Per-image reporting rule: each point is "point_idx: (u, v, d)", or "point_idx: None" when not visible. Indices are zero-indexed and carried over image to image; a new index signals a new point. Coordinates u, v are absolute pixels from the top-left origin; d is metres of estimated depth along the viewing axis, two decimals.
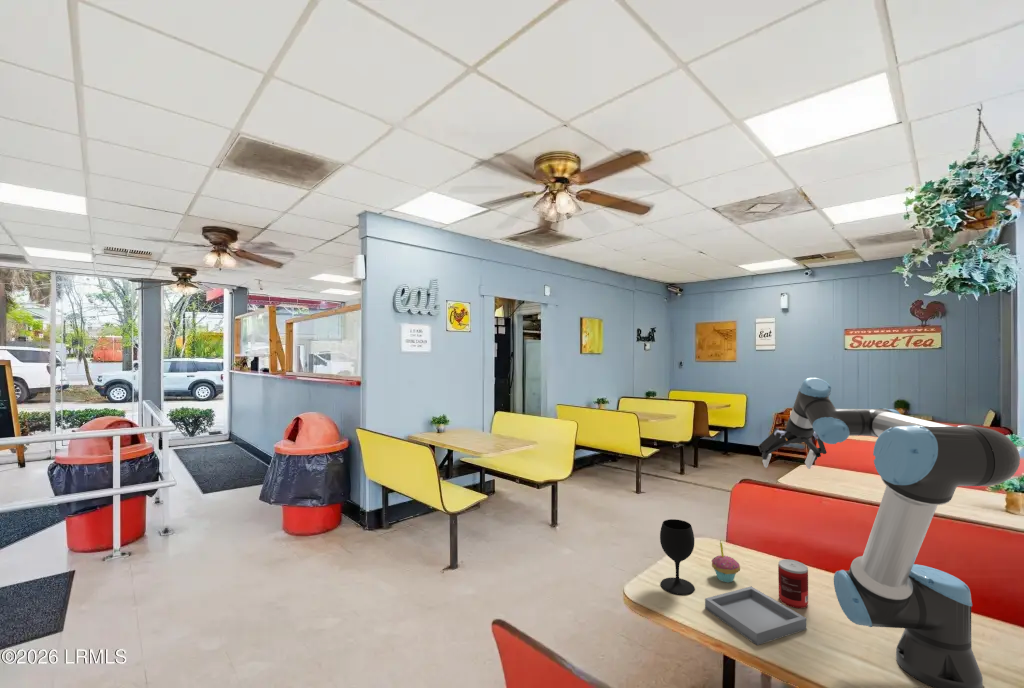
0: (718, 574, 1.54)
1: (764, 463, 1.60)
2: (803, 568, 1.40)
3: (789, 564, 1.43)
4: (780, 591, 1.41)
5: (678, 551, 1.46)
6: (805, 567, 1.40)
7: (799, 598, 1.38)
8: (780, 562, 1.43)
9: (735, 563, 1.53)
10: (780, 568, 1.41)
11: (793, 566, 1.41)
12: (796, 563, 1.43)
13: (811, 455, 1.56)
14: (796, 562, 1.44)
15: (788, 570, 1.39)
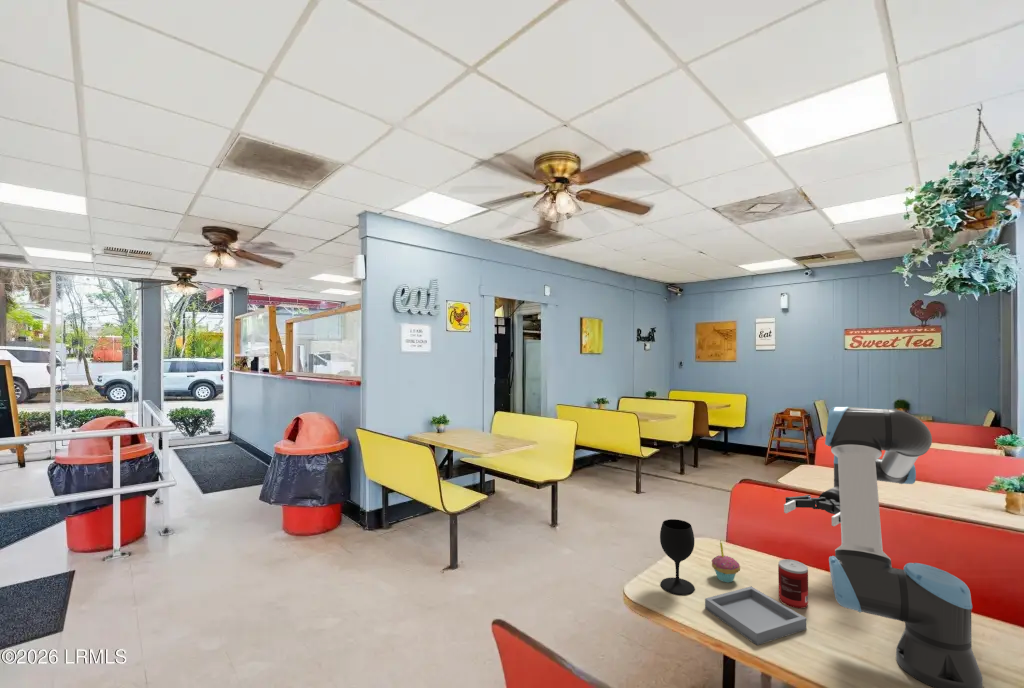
0: (718, 574, 1.54)
1: None
2: (803, 568, 1.40)
3: (789, 564, 1.43)
4: (780, 591, 1.41)
5: (678, 551, 1.46)
6: (805, 567, 1.40)
7: (799, 598, 1.38)
8: (780, 562, 1.43)
9: (735, 563, 1.53)
10: (780, 568, 1.41)
11: (793, 566, 1.41)
12: (796, 563, 1.43)
13: None
14: (796, 562, 1.44)
15: (788, 570, 1.39)
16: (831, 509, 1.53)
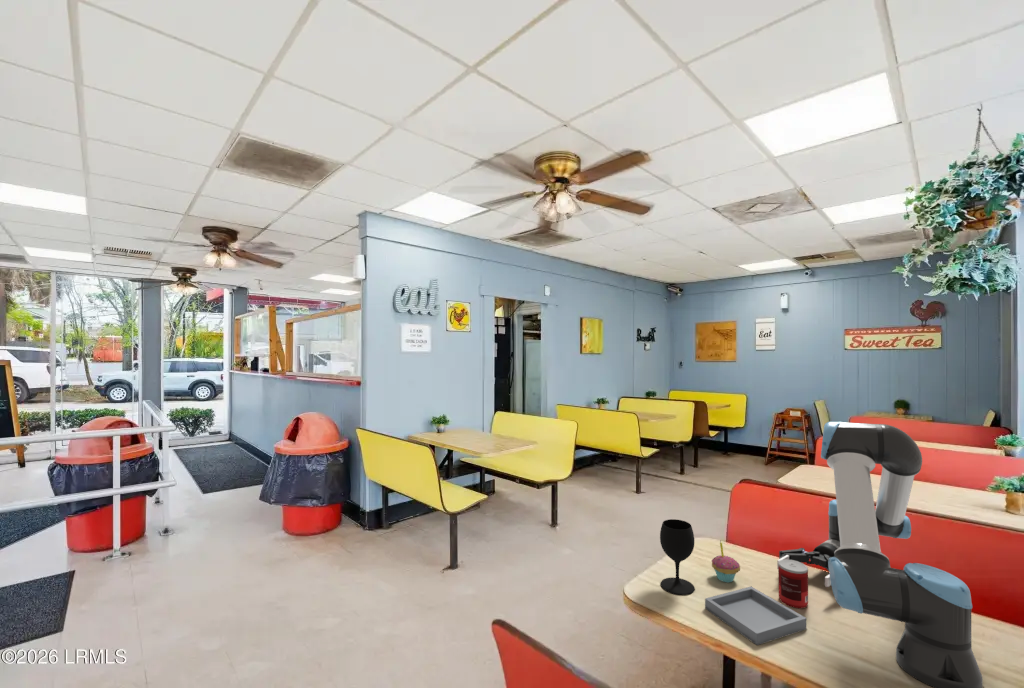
0: (718, 574, 1.54)
1: None
2: (803, 568, 1.40)
3: (789, 564, 1.43)
4: (780, 591, 1.41)
5: (678, 551, 1.46)
6: (805, 567, 1.40)
7: (799, 598, 1.38)
8: (780, 562, 1.43)
9: (735, 563, 1.53)
10: (780, 568, 1.41)
11: (793, 566, 1.41)
12: (796, 563, 1.43)
13: None
14: (796, 562, 1.44)
15: (788, 570, 1.39)
16: (825, 565, 1.51)
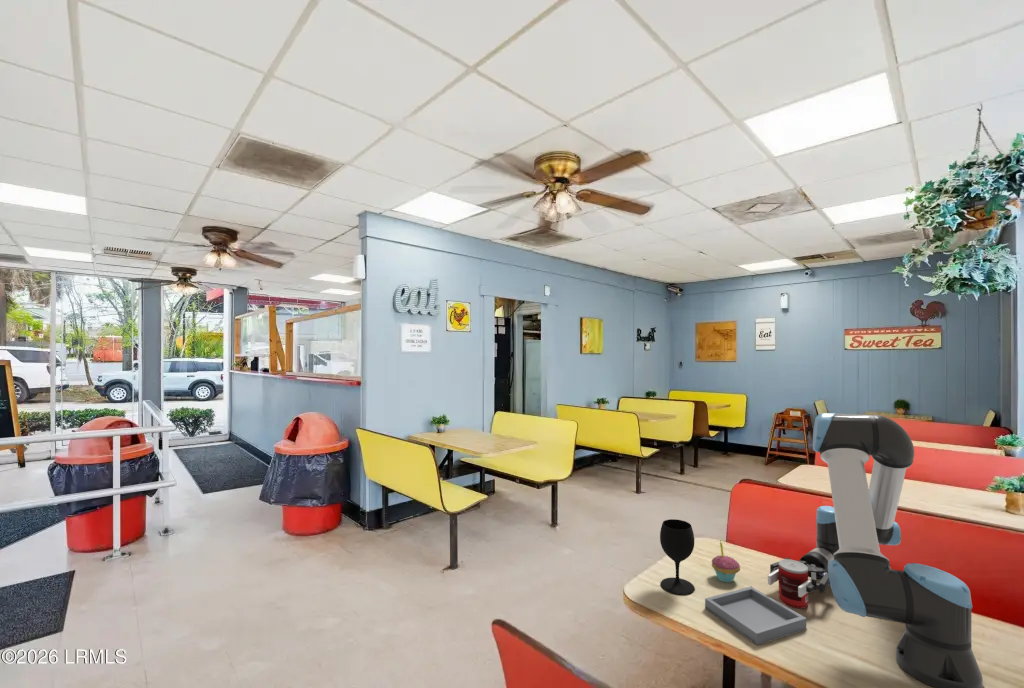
0: (718, 574, 1.54)
1: None
2: (803, 568, 1.40)
3: (789, 564, 1.43)
4: (780, 591, 1.41)
5: (678, 551, 1.46)
6: (805, 567, 1.40)
7: (799, 598, 1.38)
8: (780, 562, 1.43)
9: (735, 563, 1.53)
10: (780, 568, 1.41)
11: (793, 566, 1.41)
12: (796, 563, 1.43)
13: None
14: (796, 562, 1.44)
15: (788, 570, 1.39)
16: None
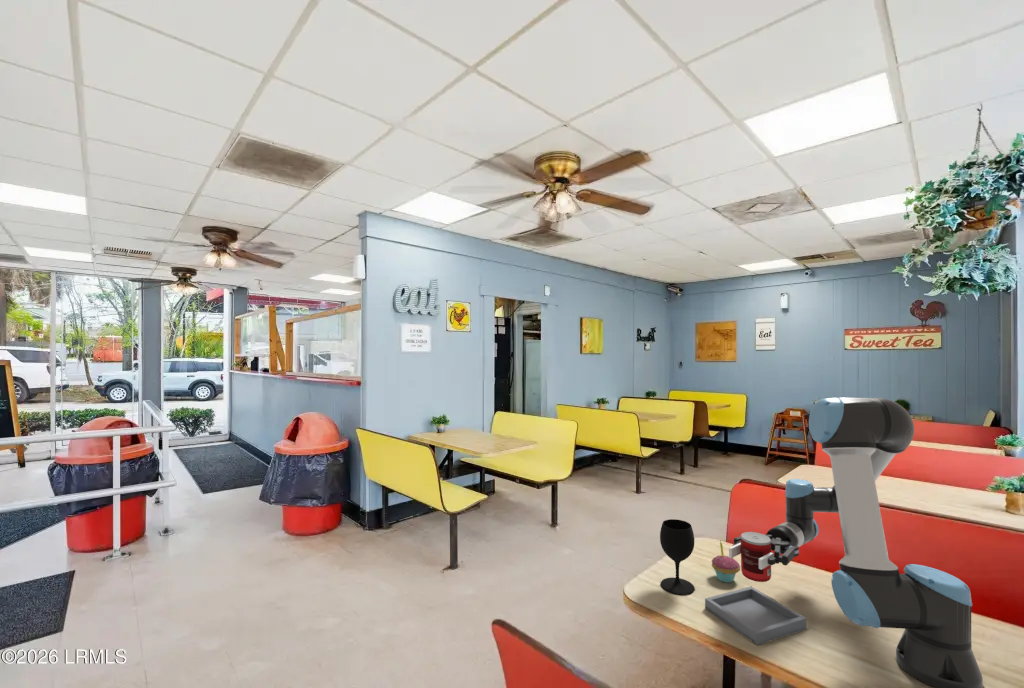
0: (718, 574, 1.54)
1: None
2: (766, 540, 1.33)
3: (752, 536, 1.36)
4: (742, 564, 1.35)
5: (678, 551, 1.46)
6: (768, 539, 1.33)
7: (761, 571, 1.31)
8: (743, 534, 1.37)
9: (735, 563, 1.53)
10: (742, 540, 1.34)
11: (756, 538, 1.35)
12: (759, 535, 1.36)
13: None
14: (760, 534, 1.37)
15: (750, 542, 1.32)
16: None
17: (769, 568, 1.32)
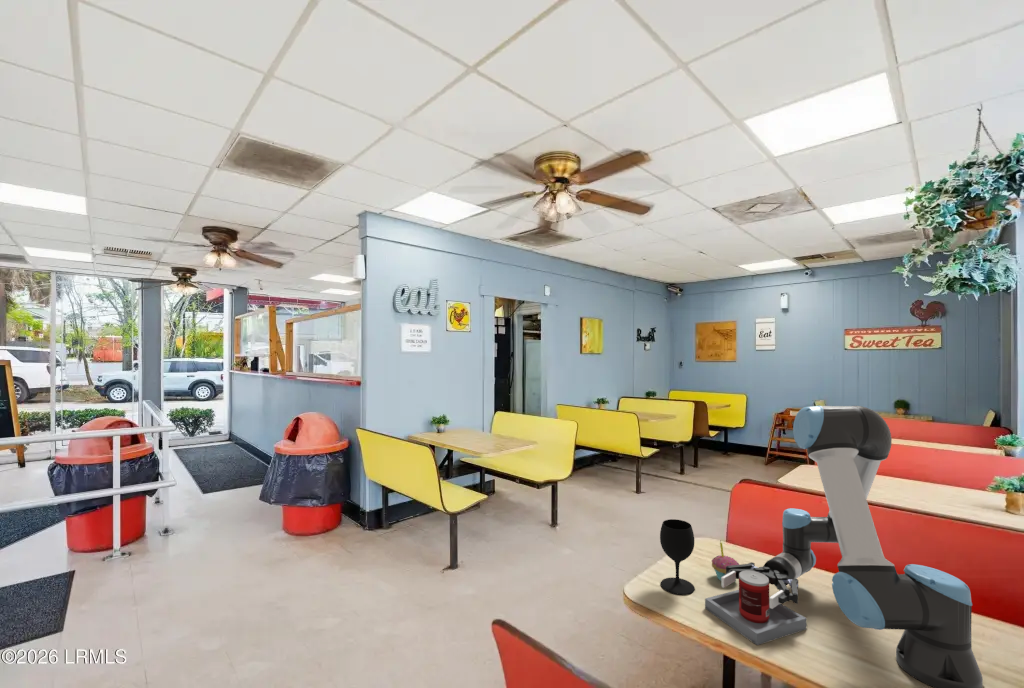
0: (718, 574, 1.54)
1: None
2: (764, 580, 1.32)
3: (750, 575, 1.35)
4: (740, 604, 1.33)
5: (678, 551, 1.46)
6: (766, 579, 1.32)
7: (759, 612, 1.29)
8: (741, 573, 1.35)
9: (735, 563, 1.53)
10: (740, 580, 1.33)
11: (754, 578, 1.33)
12: (758, 574, 1.35)
13: None
14: (758, 573, 1.35)
15: (748, 582, 1.31)
16: (774, 583, 1.36)
17: (767, 609, 1.30)
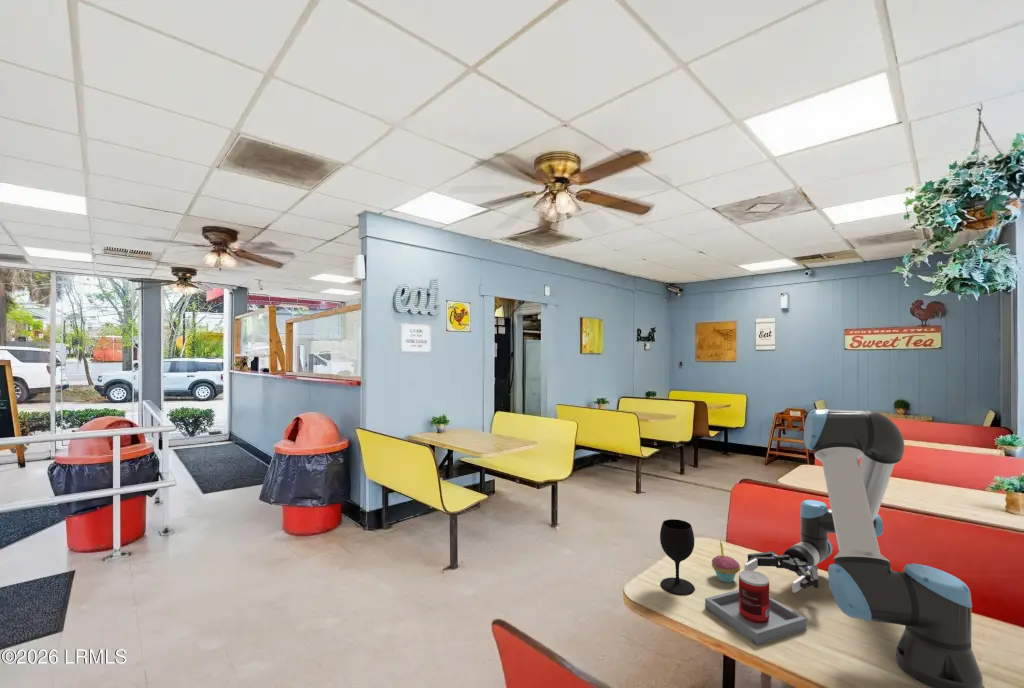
0: (718, 574, 1.54)
1: None
2: (764, 580, 1.32)
3: (750, 575, 1.35)
4: (740, 604, 1.33)
5: (678, 551, 1.46)
6: (766, 579, 1.32)
7: (759, 612, 1.29)
8: (741, 573, 1.35)
9: (735, 563, 1.53)
10: (740, 580, 1.33)
11: (754, 578, 1.33)
12: (758, 574, 1.35)
13: None
14: (758, 573, 1.35)
15: (748, 582, 1.31)
16: (794, 570, 1.44)
17: (767, 609, 1.30)
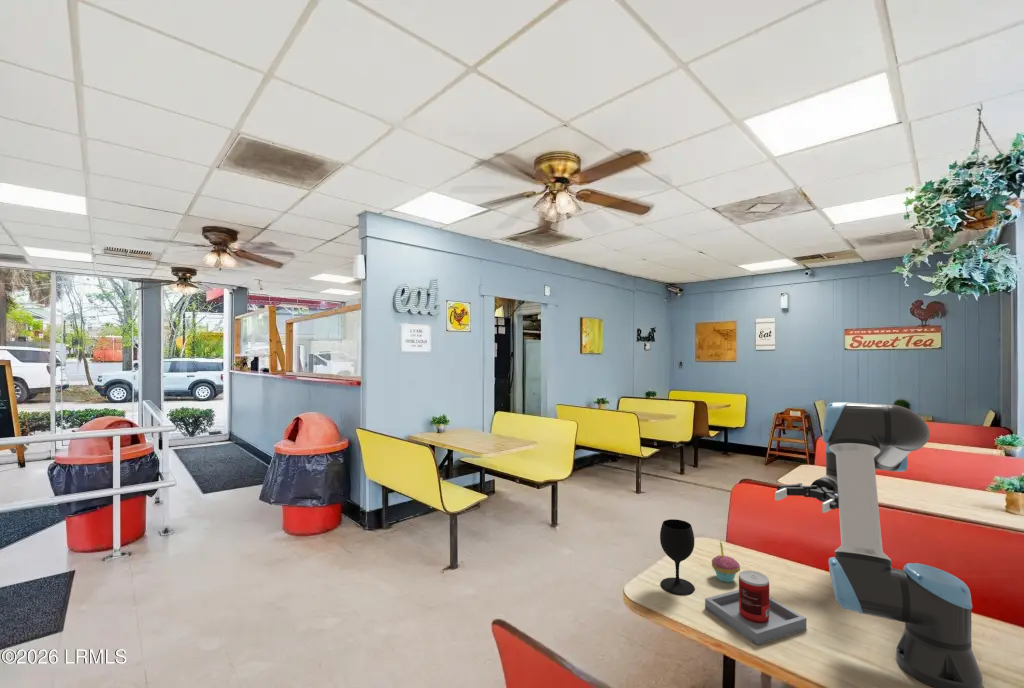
0: (718, 574, 1.54)
1: None
2: (764, 580, 1.32)
3: (750, 575, 1.35)
4: (740, 604, 1.33)
5: (678, 551, 1.46)
6: (766, 579, 1.32)
7: (759, 612, 1.29)
8: (741, 573, 1.35)
9: (735, 563, 1.53)
10: (740, 580, 1.33)
11: (754, 578, 1.33)
12: (758, 574, 1.35)
13: None
14: (758, 573, 1.35)
15: (748, 582, 1.31)
16: (822, 497, 1.52)
17: (767, 609, 1.30)
